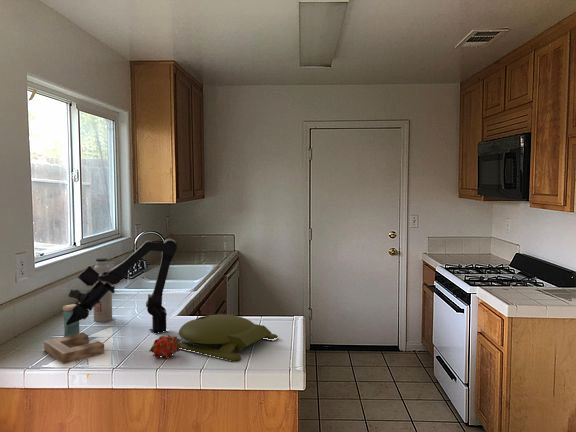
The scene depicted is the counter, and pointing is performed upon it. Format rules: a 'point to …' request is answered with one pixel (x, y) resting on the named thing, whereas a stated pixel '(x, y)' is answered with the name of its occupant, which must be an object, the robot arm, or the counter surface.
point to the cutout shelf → (73, 348)
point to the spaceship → (222, 335)
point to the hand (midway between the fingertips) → (67, 322)
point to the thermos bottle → (105, 305)
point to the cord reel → (71, 328)
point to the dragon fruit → (165, 346)
